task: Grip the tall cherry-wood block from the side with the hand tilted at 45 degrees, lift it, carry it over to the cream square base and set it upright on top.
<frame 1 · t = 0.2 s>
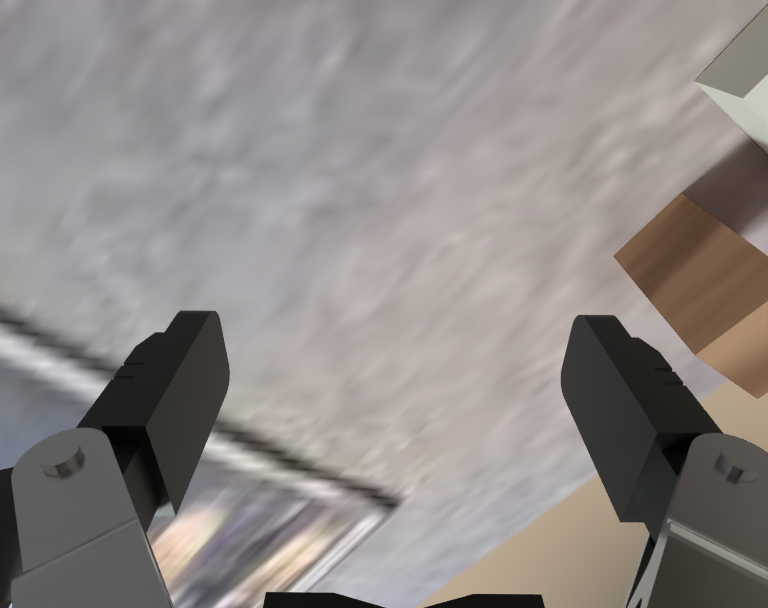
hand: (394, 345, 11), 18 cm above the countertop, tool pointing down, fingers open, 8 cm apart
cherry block: (672, 246, 30), on the countertop
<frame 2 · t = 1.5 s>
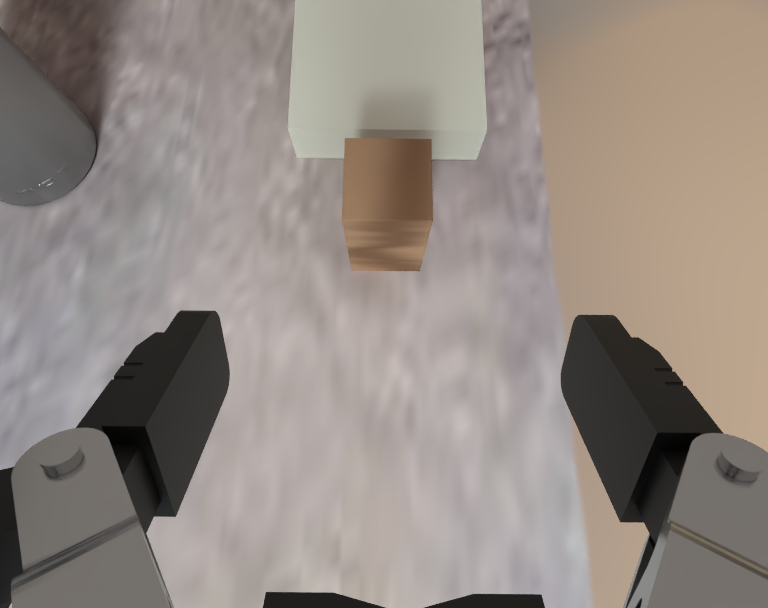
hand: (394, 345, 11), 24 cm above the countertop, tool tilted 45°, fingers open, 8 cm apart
cream base: (387, 81, 40), on the countertop
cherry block: (385, 238, 37), on the countertop
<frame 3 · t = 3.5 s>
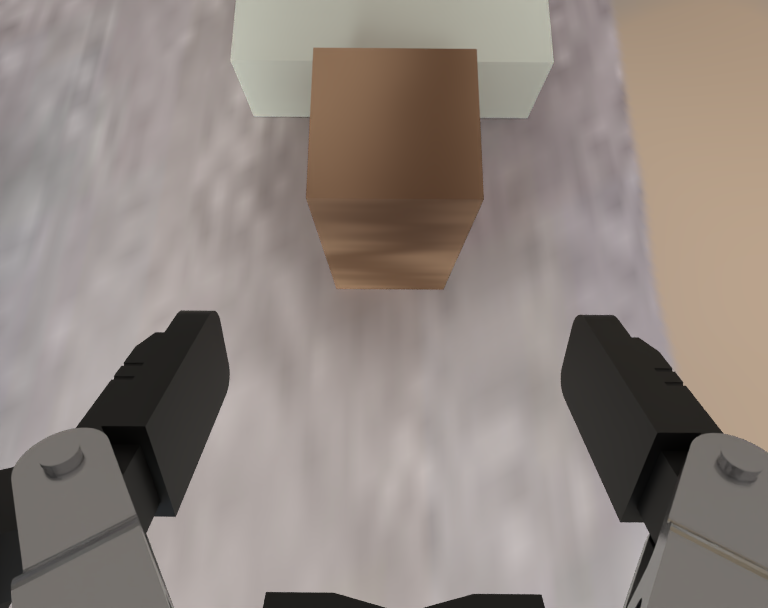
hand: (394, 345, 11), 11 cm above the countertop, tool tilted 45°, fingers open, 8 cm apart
cream base: (391, 4, 27), on the countertop
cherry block: (390, 238, 24), on the countertop
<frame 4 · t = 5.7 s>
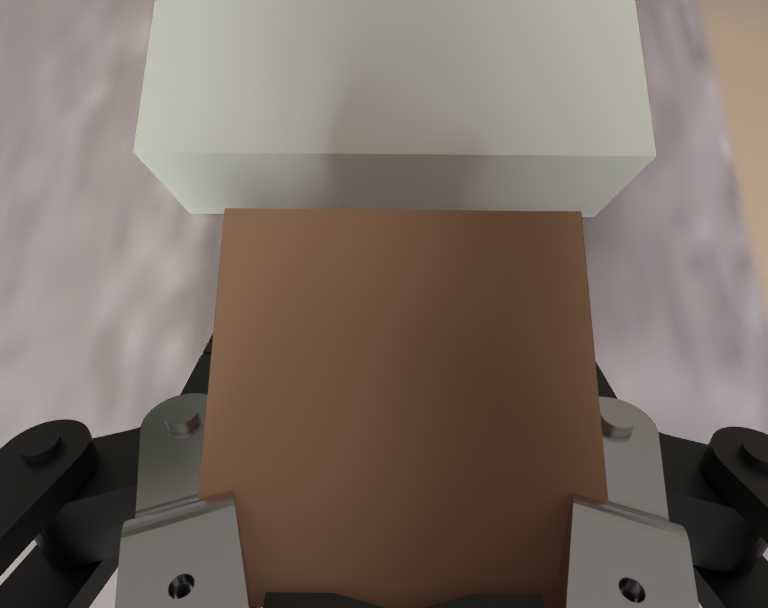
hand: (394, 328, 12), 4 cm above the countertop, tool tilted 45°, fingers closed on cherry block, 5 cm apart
cream base: (392, 44, 19), on the countertop
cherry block: (391, 410, 16), on the countertop, touching gripper
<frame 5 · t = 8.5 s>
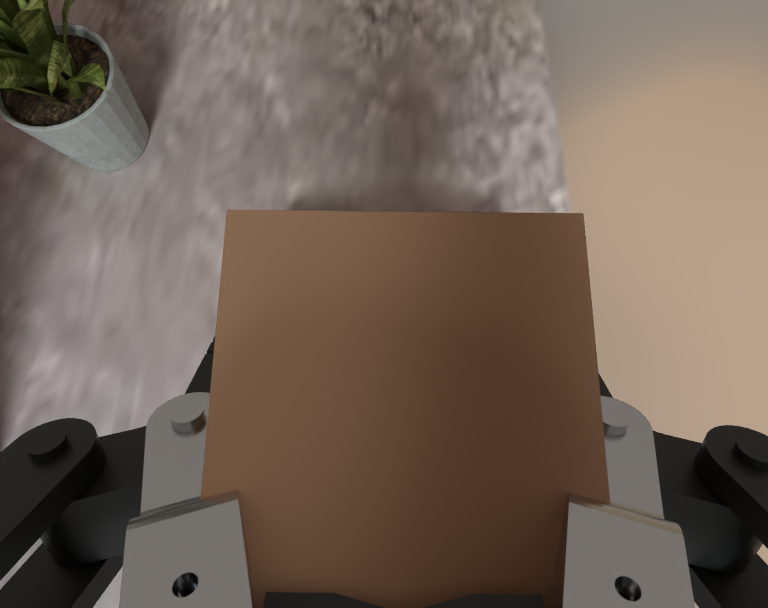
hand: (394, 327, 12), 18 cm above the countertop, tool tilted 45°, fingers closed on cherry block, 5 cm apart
house plant: (100, 127, 34), on the countertop
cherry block: (391, 411, 16), point 14 cm above the countertop, touching gripper
when the fingers open (10 cm above the countertop, at t = 10.8 s): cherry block drops 1 cm, resting on cream base.
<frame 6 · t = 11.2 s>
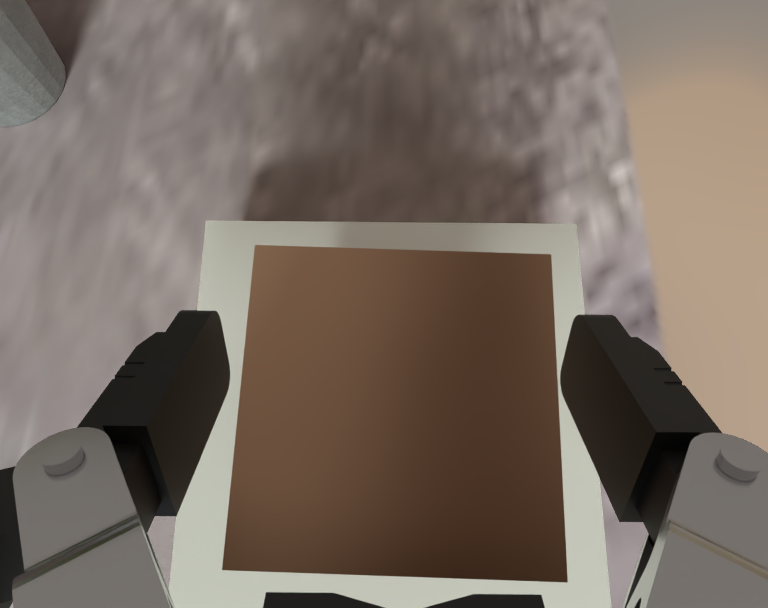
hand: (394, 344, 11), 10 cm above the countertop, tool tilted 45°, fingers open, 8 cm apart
house plant: (1, 67, 25), on the countertop
cream base: (388, 414, 21), on the countertop
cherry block: (390, 413, 17), point 4 cm above the countertop, touching cream base
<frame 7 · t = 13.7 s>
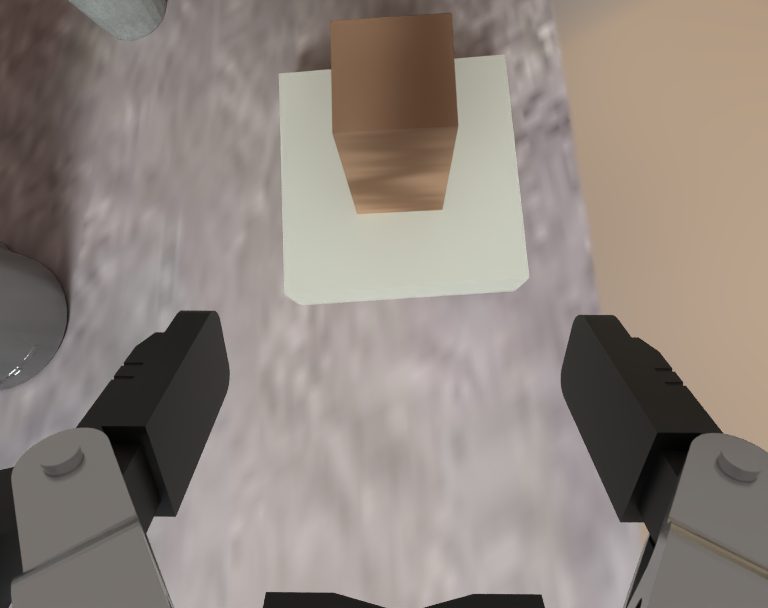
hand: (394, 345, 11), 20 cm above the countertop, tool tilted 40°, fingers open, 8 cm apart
house plant: (121, 0, 37), on the countertop
cream base: (399, 196, 33), on the countertop
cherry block: (398, 171, 29), point 4 cm above the countertop, touching cream base
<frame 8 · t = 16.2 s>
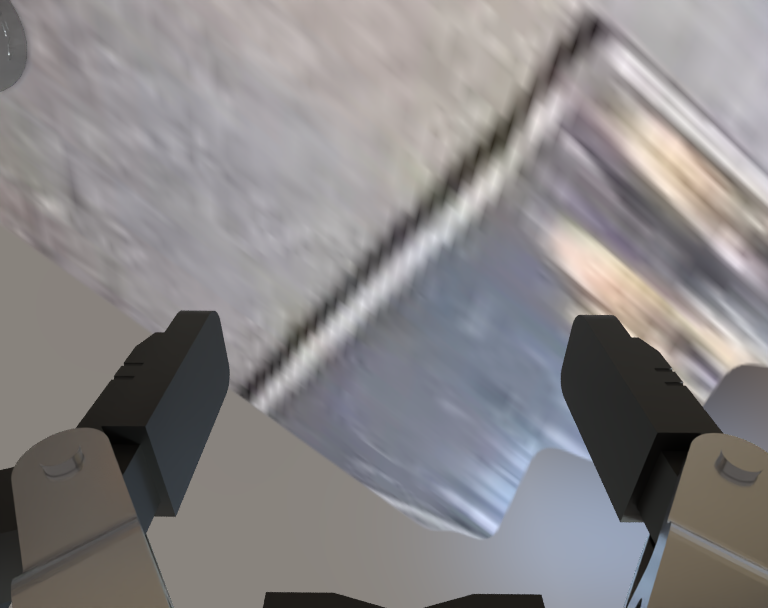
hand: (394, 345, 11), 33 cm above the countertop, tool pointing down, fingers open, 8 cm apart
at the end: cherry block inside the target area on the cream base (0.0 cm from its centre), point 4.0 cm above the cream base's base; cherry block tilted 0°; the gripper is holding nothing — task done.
